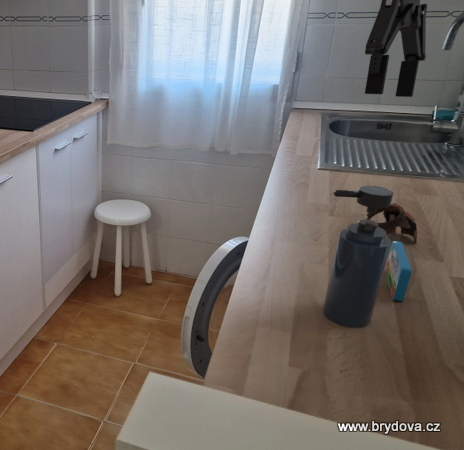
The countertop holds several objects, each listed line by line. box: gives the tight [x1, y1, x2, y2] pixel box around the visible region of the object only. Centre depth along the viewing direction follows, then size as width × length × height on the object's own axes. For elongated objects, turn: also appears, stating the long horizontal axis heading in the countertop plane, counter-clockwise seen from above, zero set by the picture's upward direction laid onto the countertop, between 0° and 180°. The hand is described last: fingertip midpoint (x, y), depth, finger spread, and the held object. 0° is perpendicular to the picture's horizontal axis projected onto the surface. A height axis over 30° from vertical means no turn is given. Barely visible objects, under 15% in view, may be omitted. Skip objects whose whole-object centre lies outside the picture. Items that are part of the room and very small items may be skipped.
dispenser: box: [322, 218, 392, 329], centre depth 84 cm, size 7×7×16 cm
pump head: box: [333, 185, 394, 213], centre depth 80 cm, size 8×4×3 cm, turn 81°
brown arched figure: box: [366, 202, 418, 245], centre depth 115 cm, size 12×10×8 cm
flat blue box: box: [384, 240, 413, 303], centre depth 95 cm, size 12×2×6 cm, turn 157°
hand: (389, 95), depth 98 cm, fingers open, 13 cm apart
